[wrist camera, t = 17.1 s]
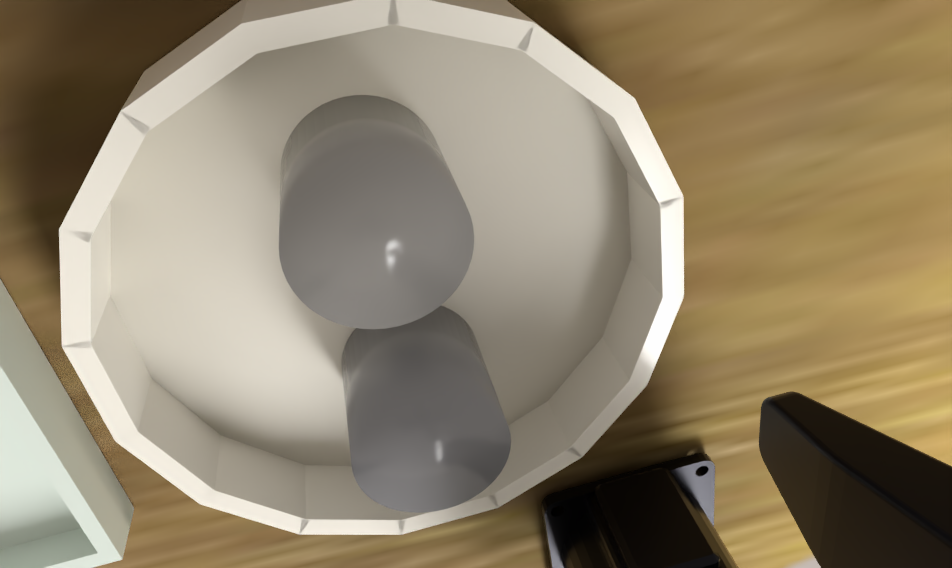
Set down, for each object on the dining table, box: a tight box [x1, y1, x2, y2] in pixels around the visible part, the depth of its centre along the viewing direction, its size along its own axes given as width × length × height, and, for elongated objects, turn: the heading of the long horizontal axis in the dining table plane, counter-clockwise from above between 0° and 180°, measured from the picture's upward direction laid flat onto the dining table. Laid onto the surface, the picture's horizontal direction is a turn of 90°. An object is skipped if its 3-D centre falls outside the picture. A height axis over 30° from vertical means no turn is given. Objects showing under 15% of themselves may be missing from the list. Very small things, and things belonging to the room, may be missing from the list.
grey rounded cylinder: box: [341, 306, 511, 513], centre depth 20 cm, size 4×4×4 cm
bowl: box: [59, 0, 684, 535], centre depth 20 cm, size 15×15×3 cm
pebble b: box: [279, 95, 474, 329], centre depth 17 cm, size 4×4×4 cm
